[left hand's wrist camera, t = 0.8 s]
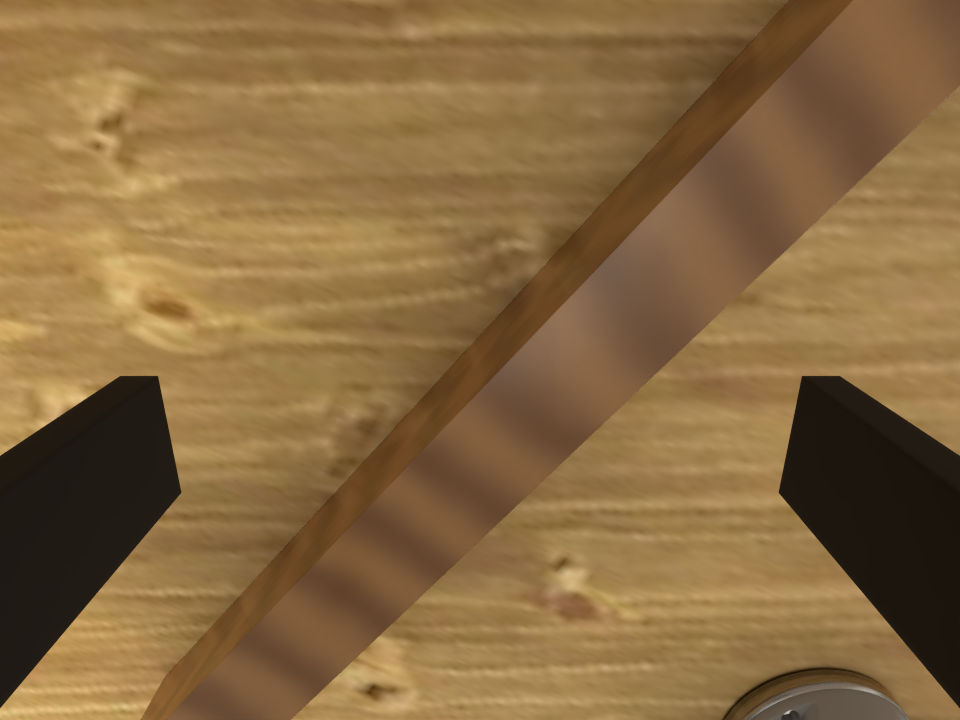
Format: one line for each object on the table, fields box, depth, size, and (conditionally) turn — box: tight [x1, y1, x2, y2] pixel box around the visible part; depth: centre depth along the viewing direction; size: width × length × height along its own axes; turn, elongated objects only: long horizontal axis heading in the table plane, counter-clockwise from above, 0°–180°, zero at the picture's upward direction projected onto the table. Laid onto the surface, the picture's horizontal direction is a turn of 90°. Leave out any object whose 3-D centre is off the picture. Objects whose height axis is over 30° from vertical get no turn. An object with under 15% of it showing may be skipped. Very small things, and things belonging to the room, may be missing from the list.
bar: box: [141, 0, 960, 720], centre depth 36 cm, size 69×6×8 cm, turn 139°
